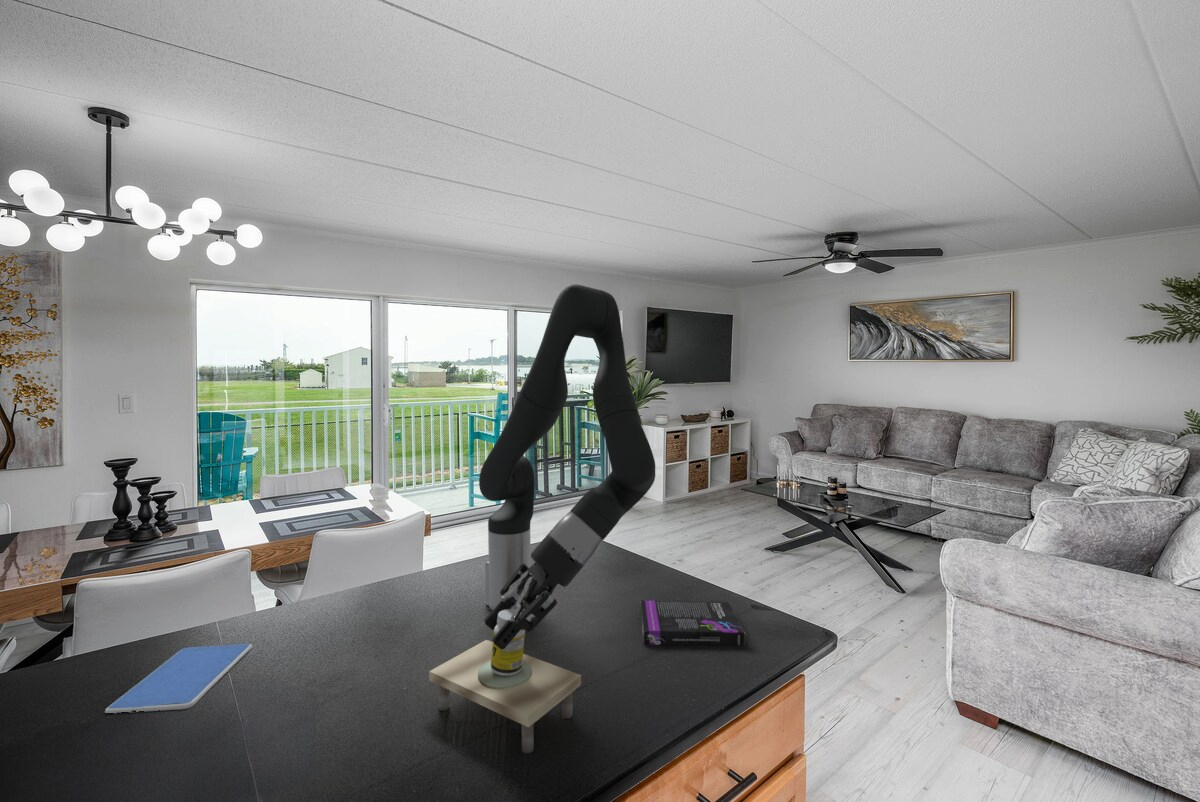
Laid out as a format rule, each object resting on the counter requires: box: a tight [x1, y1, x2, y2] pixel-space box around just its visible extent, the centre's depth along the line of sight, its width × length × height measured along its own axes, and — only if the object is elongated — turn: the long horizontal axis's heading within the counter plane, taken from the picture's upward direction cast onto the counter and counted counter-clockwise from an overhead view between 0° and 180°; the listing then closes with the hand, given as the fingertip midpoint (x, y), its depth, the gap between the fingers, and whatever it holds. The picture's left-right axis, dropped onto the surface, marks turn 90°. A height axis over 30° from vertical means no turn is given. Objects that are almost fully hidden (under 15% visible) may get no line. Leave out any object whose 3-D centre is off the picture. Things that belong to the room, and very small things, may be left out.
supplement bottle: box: [491, 609, 526, 676], centre depth 83 cm, size 5×5×8 cm
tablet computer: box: [104, 643, 253, 714], centre depth 93 cm, size 19×13×1 cm, turn 7°
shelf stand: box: [428, 639, 582, 754], centre depth 84 cm, size 20×12×6 cm, turn 56°
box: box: [639, 600, 747, 646], centre depth 111 cm, size 14×4×20 cm
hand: (492, 635), depth 82 cm, fingers open, 6 cm apart
